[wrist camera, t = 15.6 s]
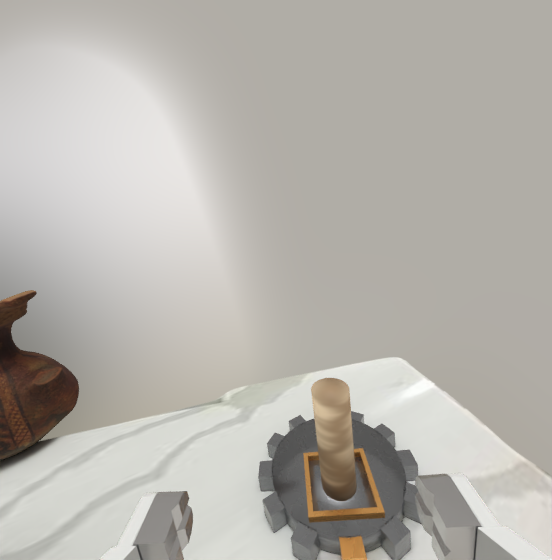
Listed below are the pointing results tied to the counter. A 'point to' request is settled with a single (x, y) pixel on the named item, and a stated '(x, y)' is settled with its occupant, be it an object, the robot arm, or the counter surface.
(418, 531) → the counter surface
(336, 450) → the drive pin
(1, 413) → the jug
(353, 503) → the sprocket
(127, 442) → the counter surface
